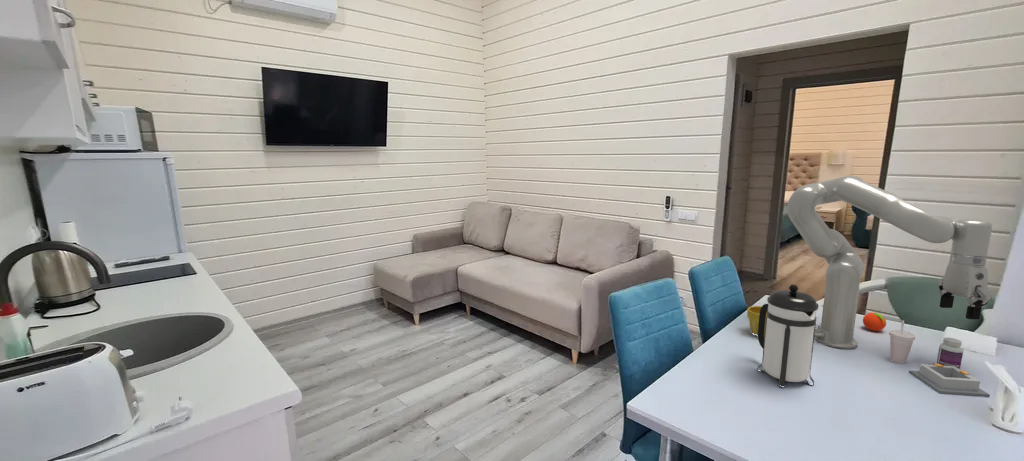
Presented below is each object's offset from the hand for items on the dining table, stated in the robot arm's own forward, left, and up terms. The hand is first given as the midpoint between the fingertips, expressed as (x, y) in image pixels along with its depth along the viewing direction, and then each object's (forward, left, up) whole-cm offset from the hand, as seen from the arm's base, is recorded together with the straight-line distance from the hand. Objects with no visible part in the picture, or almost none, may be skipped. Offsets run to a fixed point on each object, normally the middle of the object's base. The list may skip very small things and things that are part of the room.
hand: (958, 313), depth 131 cm
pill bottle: (0, 0, -19) cm, 19 cm away
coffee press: (-54, -13, -19) cm, 59 cm away
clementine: (-4, +29, -19) cm, 35 cm away
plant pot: (-48, +19, -19) cm, 55 cm away
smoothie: (-12, +3, -19) cm, 23 cm away
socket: (-8, -11, -19) cm, 23 cm away
